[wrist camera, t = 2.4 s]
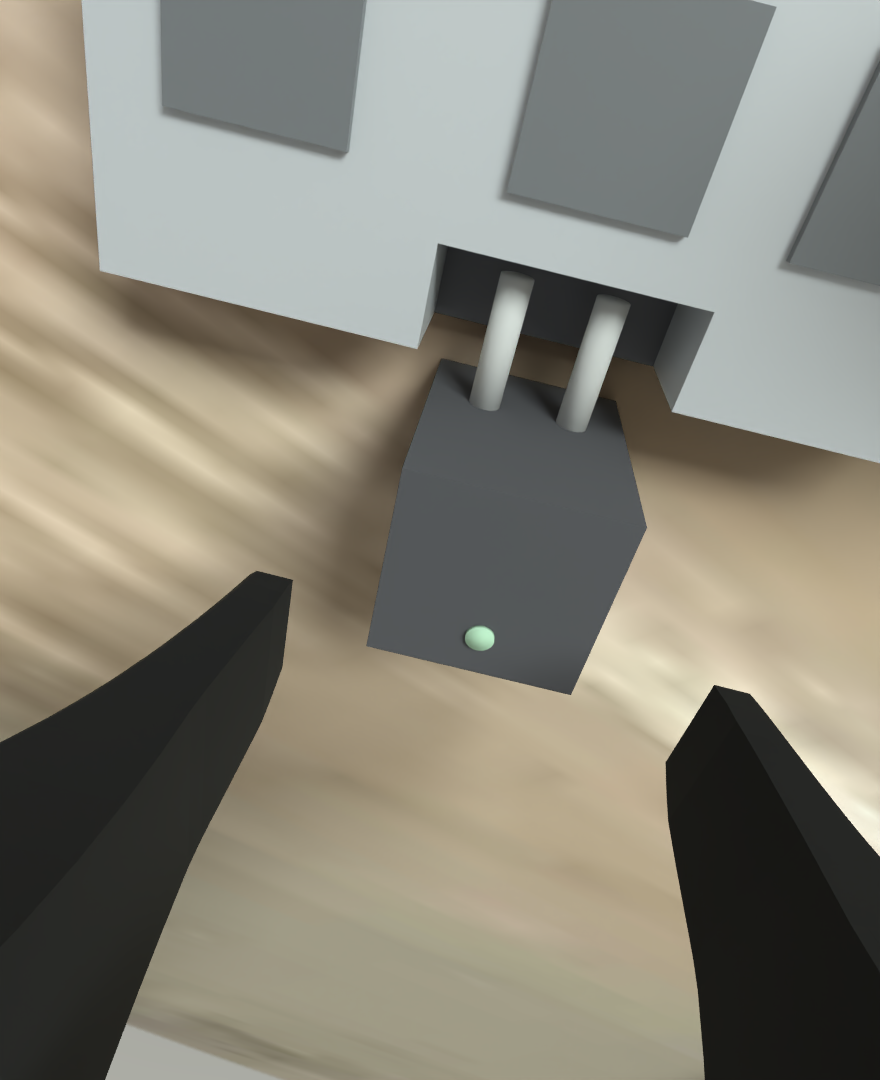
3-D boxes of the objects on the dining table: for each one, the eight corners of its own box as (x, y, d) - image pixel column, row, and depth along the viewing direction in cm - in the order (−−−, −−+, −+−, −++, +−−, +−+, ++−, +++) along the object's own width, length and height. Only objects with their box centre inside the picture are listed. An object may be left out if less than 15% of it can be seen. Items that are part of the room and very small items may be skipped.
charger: (409, 505, 20) (365, 649, 15) (467, 241, 16) (432, 313, 11) (562, 542, 20) (570, 698, 15) (657, 288, 16) (714, 384, 11)
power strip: (177, 238, 16) (83, 277, 13) (174, -166, 13) (38, -260, 9) (904, 418, 17) (997, 503, 13) (1121, 77, 13) (1331, 75, 9)
